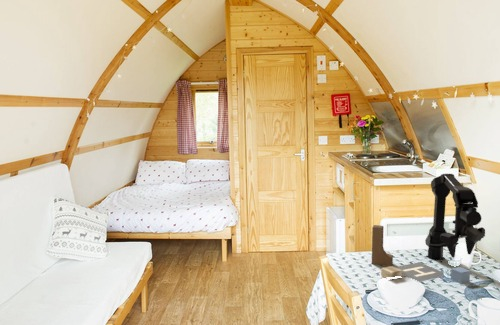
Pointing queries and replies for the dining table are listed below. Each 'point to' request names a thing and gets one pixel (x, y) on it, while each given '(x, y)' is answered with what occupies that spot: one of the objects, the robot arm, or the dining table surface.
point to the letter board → (420, 271)
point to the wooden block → (379, 248)
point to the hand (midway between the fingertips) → (461, 255)
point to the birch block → (391, 272)
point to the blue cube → (460, 275)
